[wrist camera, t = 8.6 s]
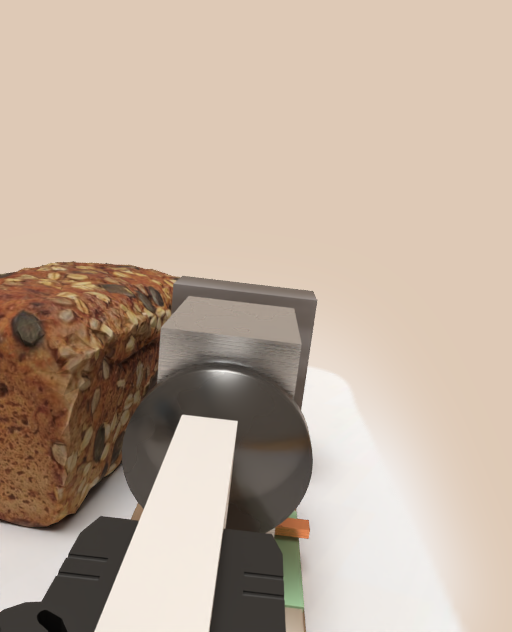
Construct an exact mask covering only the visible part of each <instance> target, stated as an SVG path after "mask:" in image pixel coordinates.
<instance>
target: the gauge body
mask: <svg viewBox="0 0 512 632" xmlns="http://www.w3.org/2000/svg"><path fill="white" fill-rule="evenodd" d="M188 296H194V297H202V298H211V299H219V300H228V301H236V302H245V303H253V304H262V305H270V306H279V307H287V308H294V310H295V315H296V320H297V324H298V329H299V334H300V339H301V343H302V345H301V352H300V359H299V366H298V373H297V380H296V387H295V394H294V401H295V402H296V404H297V405H298V406H299V408H300V410H301V407H302V400H303V393H304V386H305V380H306V373H307V366H308V359H309V352H310V346H311V339H312V332H313V326H314V318H315V311H316V305H317V299H316V297H315V295H314V292H313V291H306V290H298V289H289V288H280V287H272V286H264V285H255V284H247V283H238V282H230V281H221V280H213V279H204V278H195V277H186V276H182V277H181V278H180V279H178V280H177V281H176V282H175V283H174V284H173V296H172V310H171V316H172V314H173V313H174V312H175V311H176V310H177V309H178V308H179V306H180V305H181V304H182V303H183V302H184V301H185V300H186V298H187V297H188ZM143 510H144V509H143V508H142V507H141V505H140V504H139V503H138V504H137V507H136V509H135V511H134V513H133V516H132V518H131V520H138V521H139V520H140V517H141V515H142V513H143ZM288 518H294V519H297V513H296V509H295V510H294V512H293V513H292V514H291V515H290V516H289V517H288ZM274 539H275V541H276V543H277V544H278V546H279V548H280V550H281V552H282V554H283V573H284V577H283V581H284V600H285V622H286V632H306V627H305V614H304V600H303V588H302V575H301V563H300V550H299V538H298V537H290V536H281V535H274Z"/></svg>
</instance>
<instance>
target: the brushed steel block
mask: <svg viewBox="0 0 512 632" xmlns="http://www.w3.org/2000/svg"><path fill="white" fill-rule="evenodd" d="M301 345H302V343H301V339H300V334H299V329H298V324H297V320H296V315H295V310H294V308H287V307H279V306H270V305H262V304H253V303H245V302H236V301H228V300H219V299H211V298H202V297H194V296H188V297H187V298H186V300H185V301H184V302H183V303H182V304H181V305H180V306H179V308H178V309H177V310H176V311H175V312H174V313H173V314H172V316H171V317H170V318H169V319H168V320H167V321H166V322H165V323H164V325H163V326H162V327H161V333H160V349H159V364H158V379H157V384H156V385H155V386H154V387H153V388H152V389H151V390H150V391H149V392H148V393H147V394H146V396H145V397H144V398H143V400H142V401H141V403H140V404H139V406H138V407H137V409H136V410H135V412H134V414H133V415H132V417H131V419H130V421H129V423H128V425H127V428H126V431H125V434H124V438H123V445H122V464H123V469H124V474H125V477H126V480H127V483H128V486H129V488H130V490H131V492H132V494H133V495H134V497H135V498H136V500H137V502H138V503H139V504H140V505H141V507H142V508H143V509H144V508H145V505H146V503H147V500H148V498H149V495H150V493H151V490H152V488H153V485H154V483H155V480H156V478H157V475H158V473H159V470H160V468H161V465H162V463H163V461H164V458H165V456H166V453H167V451H168V448H169V446H170V443H171V441H172V438H173V436H174V433H175V431H176V428H177V426H178V423H179V421H180V418H181V416H182V415H189V416H198V417H207V418H215V419H224V420H233V421H238V424H237V432H236V441H235V450H234V459H233V468H232V477H231V485H230V494H229V503H228V512H227V519H226V527H225V529H232V530H240V531H249V532H258V533H267V534H272V535H273V537H274V535H281V536H290V537H298V538H306V539H308V538H309V532H310V528H309V520H303V519H294V518H288V517H289V516H290V515H291V514H292V513H293V512H294V510H295V509H296V508H297V506H298V505H299V504H300V502H301V500H302V499H303V497H304V495H305V493H306V490H307V488H308V485H309V482H310V478H311V474H312V464H313V459H312V448H311V441H310V436H309V431H308V426H307V424H306V421H305V418H304V416H303V414H302V412H301V410H300V408H299V406H298V405H297V404H296V402H295V401H294V394H295V387H296V380H297V373H298V366H299V359H300V352H301Z"/></svg>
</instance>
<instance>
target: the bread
mask: <svg viewBox="0 0 512 632" xmlns="http://www.w3.org/2000/svg"><path fill="white" fill-rule="evenodd" d="M178 279H180V277H175V276H171V275H168V274H165V273H162V272H159V271H156V270H153V269H143V268H140V267H136V266H132V265H113V264H107V263H106V264H99V263H76V262H57V263H50V264H47V265H42V266H41V267H36V268H23V269H21V270H19V271H18V272H13V273H6V274H0V519H2V520H5V521H8V522H11V523H14V524H18V525H22V526H26V527H47V526H49V525H51V524H53V523H56V522H58V521H60V520H61V519H62V518H64V517H65V516H66V515H69V514H72V513H74V514H75V513H76V512H77V510H78V508H79V507H80V505H81V504H82V502H83V500H84V499H85V497H86V495H87V494H88V492H89V490H90V489H91V488H92V487H93V486H94V485H96V484H97V483H98V482H100V481H101V480H102V478H103V477H106V476H107V475H109V474H110V473H111V472H112V471H114V470H115V468H116V467H117V466H118V465H119V464H120V463H121V461H122V445H123V438H124V434H125V431H126V428H127V425H128V423H129V421H130V419H131V417H132V415H133V414H134V412H135V410H136V409H137V407H138V406H139V404H140V403H141V401H142V400H143V398H144V397H145V396H146V394H147V393H148V392H149V391H150V390H151V389H152V388H153V387H154V386H155V385H156V384H157V379H158V364H159V349H160V333H161V327H162V326H163V325H164V323H165V322H166V321H167V320H168V319H169V318H170V317H171V310H172V296H173V284H174V283H175V282H176V281H177V280H178Z"/></svg>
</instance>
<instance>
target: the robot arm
mask: <svg viewBox="0 0 512 632" xmlns="http://www.w3.org/2000/svg"><path fill="white" fill-rule="evenodd" d="M237 424H238V421H233V420H224V419H215V418H207V417H198V416H189V415H182V416H181V418H180V421H179V423H178V426H177V428H176V431H175V433H174V436H173V438H172V441H171V443H170V446H169V448H168V451H167V453H166V456H165V458H164V461H163V463H162V465H161V468H160V470H159V473H158V475H157V478H156V480H155V483H154V485H153V488H152V490H151V493H150V495H149V498H148V500H147V503H146V505H145V508H144V510H143V513H142V515H141V517H140V520H139V521H138V520H129V519H121V518H112V517H103V516H100V517H99V518H98V519H97V520H95V521H94V522H93V523H92V524H90V525H89V526H88V527H87V528H86V529H84V530H83V531H82V532H81V533H80V534H79V536H78V538H77V540H76V541H75V543H74V545H73V547H72V549H71V550H70V552H69V555H68V558H66V559H65V561H64V563H63V564H62V566H61V568H60V570H59V572H58V576H56V577H55V579H54V580H53V582H52V584H51V586H50V587H49V589H48V591H47V593H46V594H45V596H44V598H43V600H42V602H25V603H22V604H19V605H16V606H13V607H10V608H7V609H4V610H3V611H1V612H0V632H286V622H285V600H284V581H283V577H284V573H283V554H282V552H281V550H280V548H279V546H278V544H277V543H276V541H275V539H274V537H273V535H272V534H267V533H258V532H249V531H240V530H232V529H225V527H226V519H227V512H228V503H229V494H230V485H231V477H232V468H233V459H234V450H235V441H236V432H237Z"/></svg>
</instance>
